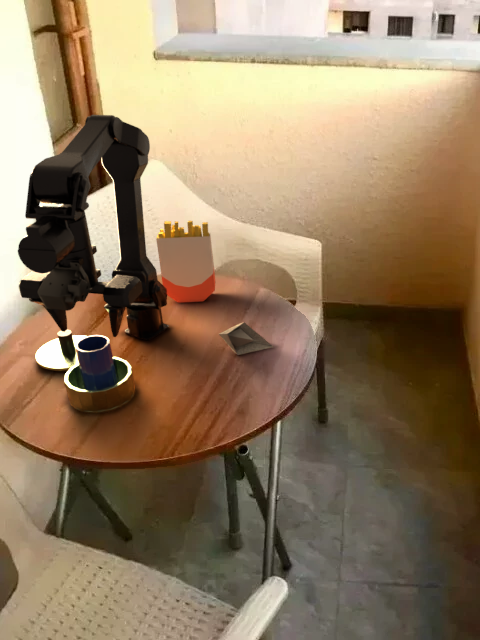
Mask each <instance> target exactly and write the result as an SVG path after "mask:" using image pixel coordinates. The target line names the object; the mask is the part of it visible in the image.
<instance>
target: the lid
mask: <svg viewBox="0 0 480 640" xmlns="http://www.w3.org/2000/svg"><path fill="white" fill-rule="evenodd" d="M87 336H88V335H79V334H78V335H75V334H74V335H73V332H72V330H71V329H67V330H66V331H65V332H62V331H61V330H59V331H58V332H57V338H55V339H52V340H50V341H48V342H46V343H45V344H43V345H42V346H41V347H39V349H37V351H36V353H35V361H36V363H37V364H38V365H39V367H41V368H42V369H45V370H49V371H55V372H63V371H65V372H66V371H68V370H69V369H70V368H71V367H73V366H74V365H76V364H78V363H79V362H78V358H77V353H76V349H75V344H76V343H77V342H78V341H79V340H80V339H82V338H84V337H87Z"/></svg>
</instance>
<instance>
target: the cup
mask: <svg viewBox="0 0 480 640" xmlns="http://www.w3.org/2000/svg"><path fill="white" fill-rule="evenodd" d="M86 336H87V337H84V338H82V339H80V340H79V341H78V342H77V343H76V344H75V349H76V353H77V358H78V362H79V367H80V371H81V376H82V380H83V385H84V389H85V390H99V389H105V388H108V387H111V386H113V385H116V384H117V383H118V381H117V376H116V370H115V365H114V360H113V357H114V356H113V355H114V354H113V350H112V345H111V340H110V339H109V337H108V336H106V335H102V334H93V335H86Z"/></svg>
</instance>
